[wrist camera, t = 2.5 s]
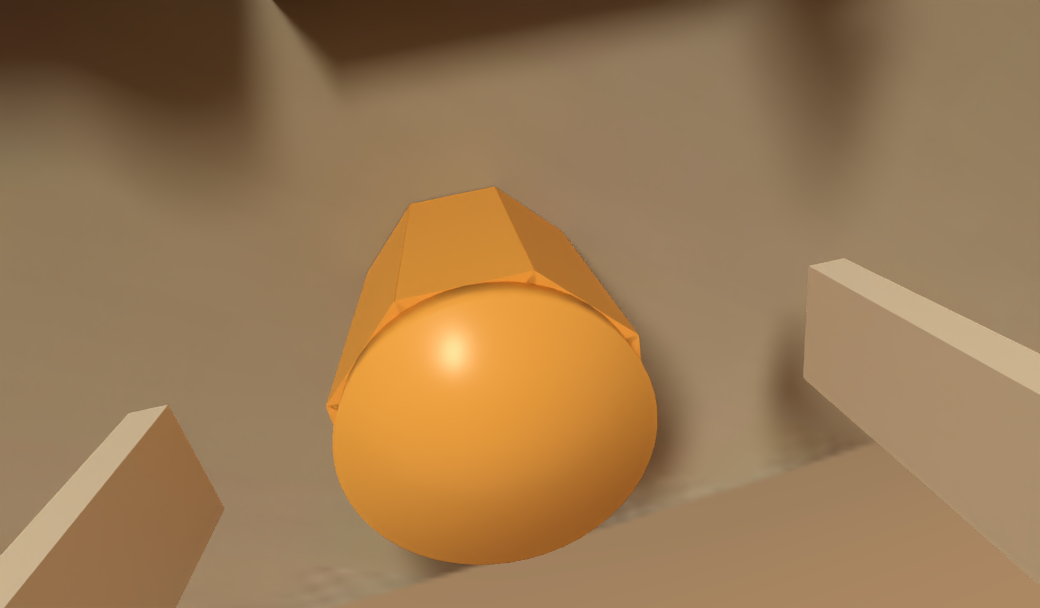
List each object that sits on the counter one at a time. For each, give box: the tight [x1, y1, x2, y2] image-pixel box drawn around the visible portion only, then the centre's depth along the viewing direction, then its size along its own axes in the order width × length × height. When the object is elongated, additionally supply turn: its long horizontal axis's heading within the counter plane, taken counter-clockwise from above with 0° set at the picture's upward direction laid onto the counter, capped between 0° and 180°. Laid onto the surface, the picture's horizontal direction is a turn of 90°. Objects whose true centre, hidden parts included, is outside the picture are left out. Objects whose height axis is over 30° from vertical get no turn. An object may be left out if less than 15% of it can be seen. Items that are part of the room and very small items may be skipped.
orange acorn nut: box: [326, 187, 657, 565], centre depth 13 cm, size 6×6×7 cm
